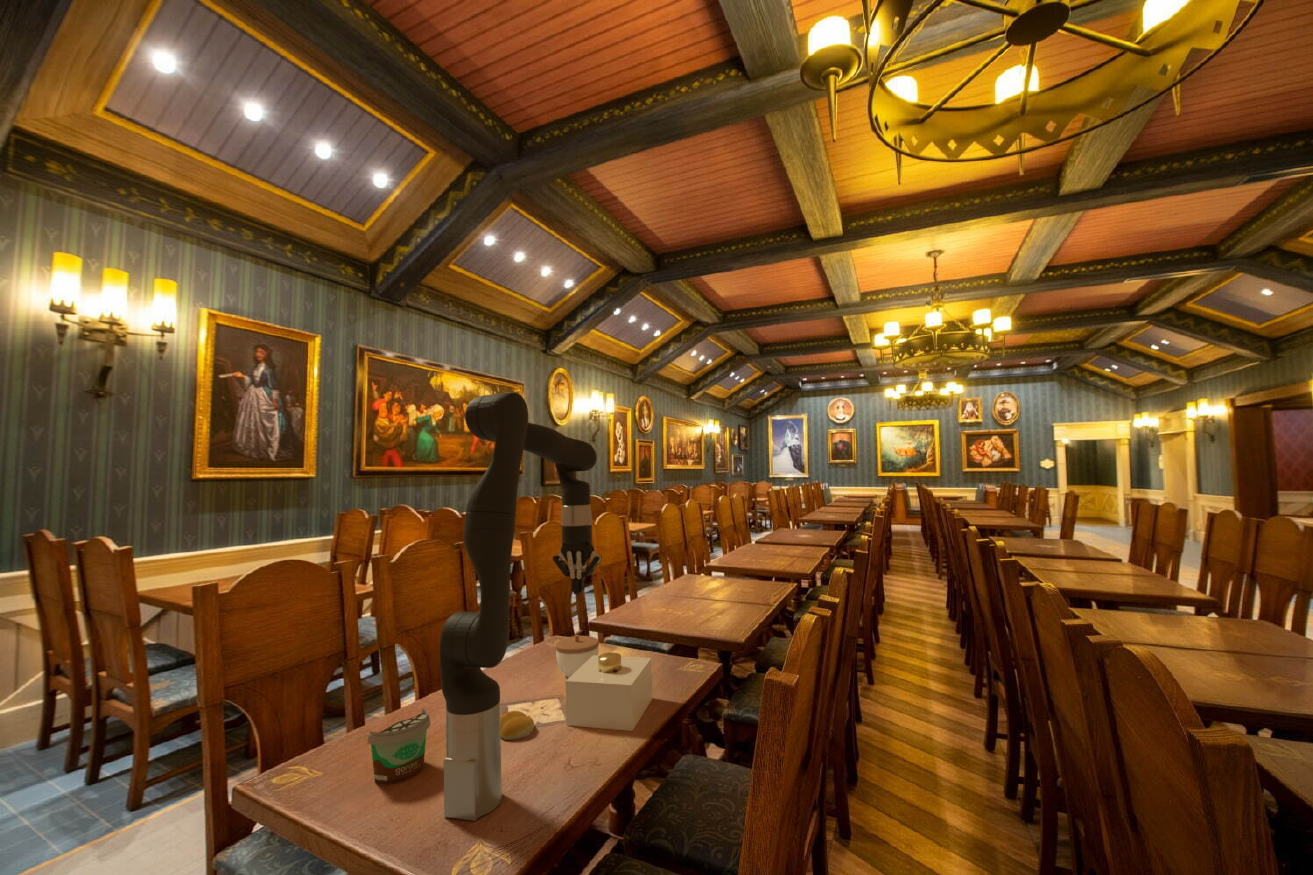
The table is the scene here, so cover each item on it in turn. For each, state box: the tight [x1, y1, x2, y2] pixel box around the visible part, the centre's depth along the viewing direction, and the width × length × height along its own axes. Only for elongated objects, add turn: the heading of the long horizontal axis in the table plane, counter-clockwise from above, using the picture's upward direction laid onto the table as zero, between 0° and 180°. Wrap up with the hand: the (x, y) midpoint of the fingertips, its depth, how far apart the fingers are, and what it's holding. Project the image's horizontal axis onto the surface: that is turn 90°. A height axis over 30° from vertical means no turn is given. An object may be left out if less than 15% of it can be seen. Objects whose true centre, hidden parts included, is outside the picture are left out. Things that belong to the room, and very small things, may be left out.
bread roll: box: [500, 710, 535, 741], centre depth 123 cm, size 8×9×4 cm
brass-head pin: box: [598, 652, 622, 673], centre depth 132 cm, size 6×6×12 cm
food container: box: [367, 708, 432, 785], centre depth 107 cm, size 12×6×10 cm, turn 148°
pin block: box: [565, 654, 654, 732], centre depth 132 cm, size 18×16×10 cm
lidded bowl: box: [554, 634, 600, 679], centre depth 158 cm, size 13×13×11 cm
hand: (578, 593), depth 133 cm, fingers closed
